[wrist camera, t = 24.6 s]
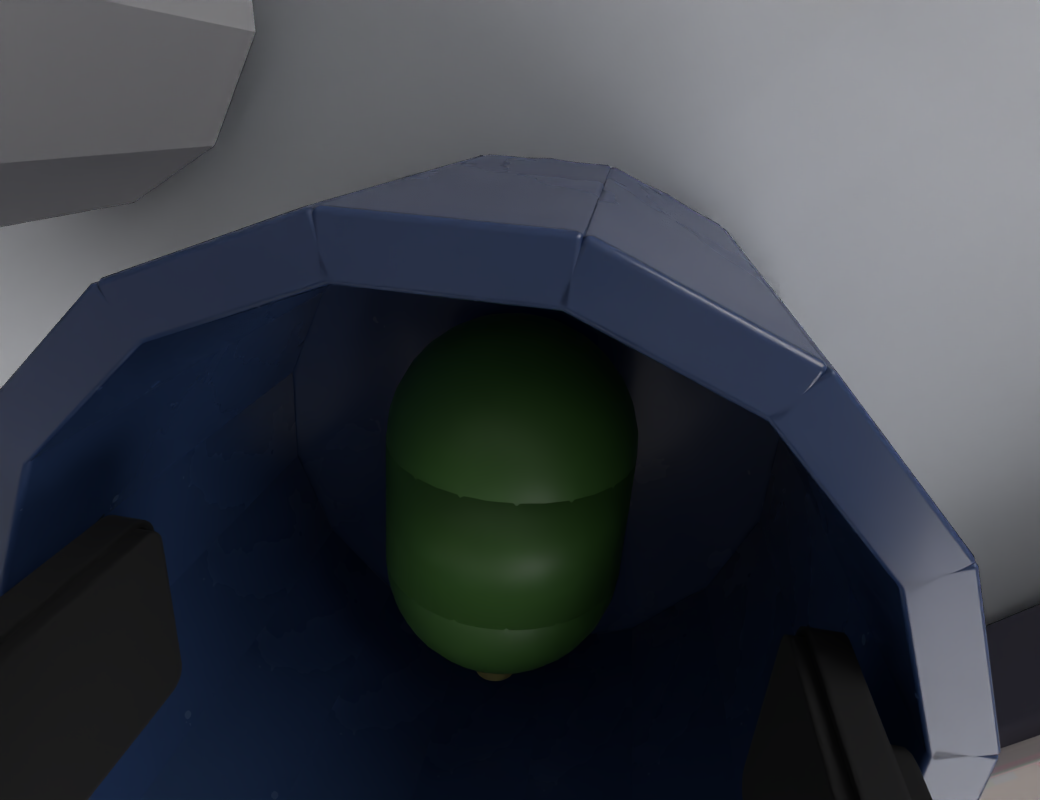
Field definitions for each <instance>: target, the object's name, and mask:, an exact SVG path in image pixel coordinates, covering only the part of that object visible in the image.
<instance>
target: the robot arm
mask: <svg viewBox="0 0 1040 800" xmlns="http://www.w3.org/2000/svg"><path fill="white" fill-rule="evenodd" d="M181 672H182V661H181V655H180V648H179V642H178V636H177V629H176V623H175V617H174V610H173V604H172V597H171V591H170V585H169V578H168V572H167V566H166V559H165V553H164V547H163V541H162V537H161V535H160V534H159V533H158V532H155V531H154V528H153V525H152V524H151V523H150V522H149V521H146V520H142V519H136V518H130V517H124V516H117V515H107V516H105V517H103V518H101V519H100V520H99V521H97V522H96V523H95V524H93V525H92V526H91V527H90V528H88V529H87V530H86V531H84V532H83V533H82V534H81V535H79V536H78V537H77V538H75V539H74V540H73V541H72V542H70V543H69V544H68V545H66V546H65V547H64V548H63V549H61V550H60V551H59V552H57V553H56V554H55V555H54V556H52V557H51V558H50V559H48V560H47V561H46V562H45V563H43V564H42V565H41V566H40V567H38V568H37V569H36V570H34V571H33V572H32V573H31V574H29V575H28V576H27V577H25V578H24V579H23V580H22V581H20V582H19V583H18V584H16V585H15V586H14V587H13V588H11V589H10V590H9V591H7V592H6V593H5V594H4V595H2V596H1V597H0V800H88V799H89V798H90V796H91V795H92V794H93V793H94V791H95V790H96V789H97V787H98V786H99V785H100V784H101V782H102V781H103V780H104V779H105V777H106V776H107V775H108V773H109V772H110V771H111V770H112V768H113V767H114V766H115V765H116V763H117V762H118V761H119V759H120V758H121V757H122V756H123V754H124V753H125V752H126V751H127V749H128V748H129V747H130V746H131V744H132V743H133V742H134V740H135V739H136V738H137V737H138V735H139V734H140V733H141V732H142V730H143V729H144V728H145V726H146V725H147V724H148V723H149V721H150V720H151V719H152V718H153V716H154V715H155V714H156V713H157V711H158V710H159V709H160V707H161V706H162V705H163V704H164V702H165V701H166V700H167V699H168V697H169V696H170V695H171V693H172V692H173V691H174V689H175V688H176V686H177V684H178V682H179V679H180V676H181ZM742 798H743V800H933V799H932V797H931V795H930V792H929V790H928V788H927V785H926V783H925V780H924V778H923V776H922V773H921V771H920V768H919V766H918V764H917V762H916V760H915V759H914V757H913V755H912V753H911V752H909V751H908V750H907V749H906V748H905V747H902V746H897V745H891V744H890V742H889V740H888V737H887V735H886V732H885V730H884V727H883V724H882V722H881V719H880V717H879V714H878V712H877V709H876V706H875V704H874V701H873V699H872V696H871V694H870V691H869V689H868V686H867V683H866V681H865V678H864V676H863V673H862V671H861V668H860V665H859V663H858V660H857V658H856V655H855V653H854V650H853V648H852V645H851V642H850V640H849V638H848V636H847V635H846V634H845V633H843V632H837V631H831V630H825V629H818V628H812V627H806V626H801V627H799V629H798V630H797V632H796V634H795V636H794V635H788V634H786V635H784V636H783V637H782V639H781V642H780V646H779V649H778V652H777V656H776V659H775V663H774V666H773V670H772V673H771V676H770V680H769V683H768V687H767V690H766V694H765V697H764V701H763V704H762V707H761V711H760V714H759V718H758V721H757V725H756V728H755V731H754V735H753V738H752V742H751V745H750V749H749V752H748V756H747V759H746V762H745V766H744V770H743V777H742Z"/></svg>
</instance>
